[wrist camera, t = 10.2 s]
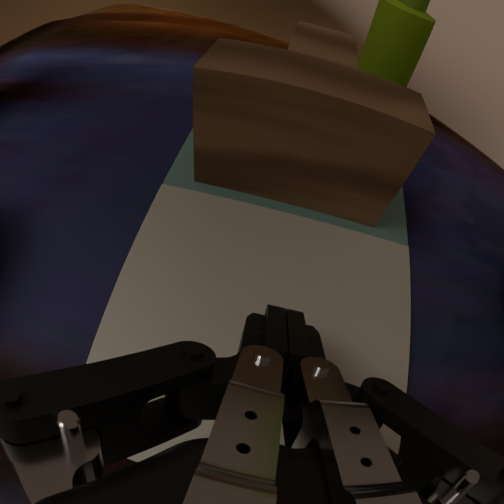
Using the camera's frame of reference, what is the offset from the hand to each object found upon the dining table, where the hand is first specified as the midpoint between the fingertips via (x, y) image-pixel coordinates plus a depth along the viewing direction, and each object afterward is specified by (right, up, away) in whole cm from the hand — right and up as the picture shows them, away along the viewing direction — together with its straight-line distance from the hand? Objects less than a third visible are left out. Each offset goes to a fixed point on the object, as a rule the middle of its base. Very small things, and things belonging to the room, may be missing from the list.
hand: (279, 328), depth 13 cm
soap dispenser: (+12, +20, +20) cm, 31 cm away
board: (+1, +3, +8) cm, 9 cm away
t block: (+2, +11, +12) cm, 16 cm away
